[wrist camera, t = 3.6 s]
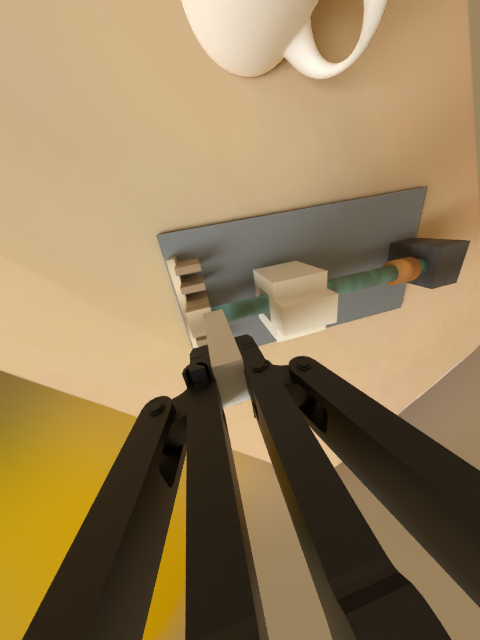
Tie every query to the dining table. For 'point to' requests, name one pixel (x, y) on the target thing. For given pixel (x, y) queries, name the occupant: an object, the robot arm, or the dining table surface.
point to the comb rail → (402, 266)
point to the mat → (301, 252)
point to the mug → (270, 35)
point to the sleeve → (296, 299)
